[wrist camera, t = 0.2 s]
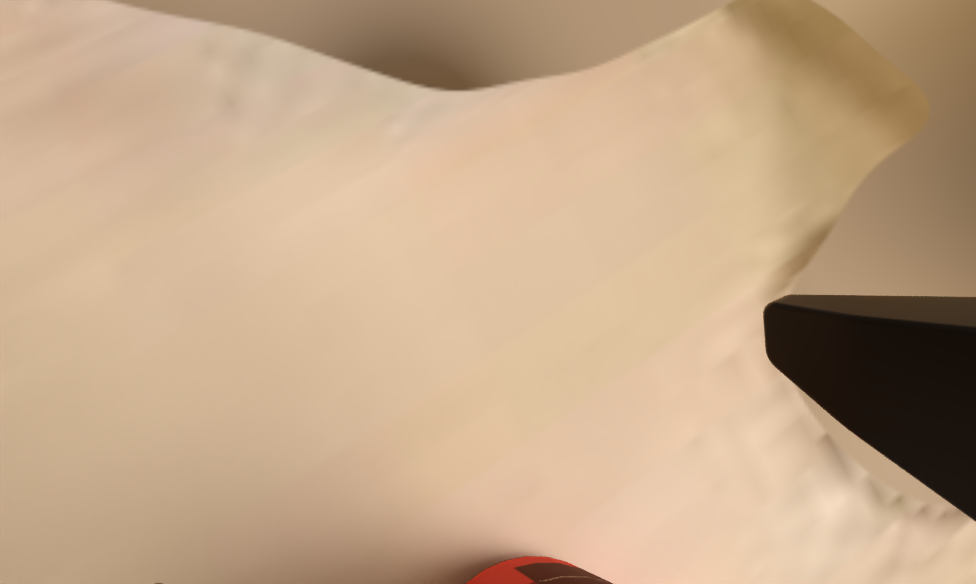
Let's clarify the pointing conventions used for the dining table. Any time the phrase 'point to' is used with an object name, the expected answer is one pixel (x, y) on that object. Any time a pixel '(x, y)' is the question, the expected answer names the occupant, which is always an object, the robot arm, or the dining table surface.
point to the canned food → (536, 573)
